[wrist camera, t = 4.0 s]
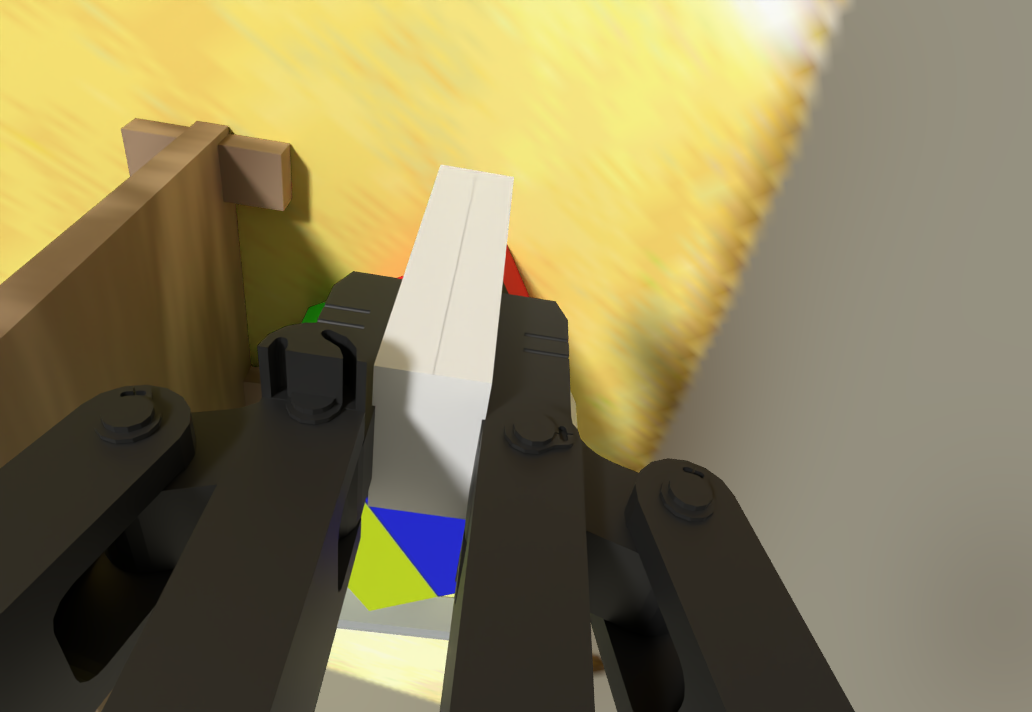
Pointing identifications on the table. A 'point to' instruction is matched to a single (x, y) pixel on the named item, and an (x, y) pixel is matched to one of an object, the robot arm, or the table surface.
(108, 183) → the table surface
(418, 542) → the puzzle toy
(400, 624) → the corral
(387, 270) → the table surface
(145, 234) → the screen
